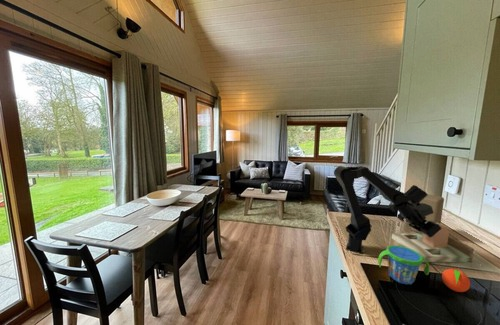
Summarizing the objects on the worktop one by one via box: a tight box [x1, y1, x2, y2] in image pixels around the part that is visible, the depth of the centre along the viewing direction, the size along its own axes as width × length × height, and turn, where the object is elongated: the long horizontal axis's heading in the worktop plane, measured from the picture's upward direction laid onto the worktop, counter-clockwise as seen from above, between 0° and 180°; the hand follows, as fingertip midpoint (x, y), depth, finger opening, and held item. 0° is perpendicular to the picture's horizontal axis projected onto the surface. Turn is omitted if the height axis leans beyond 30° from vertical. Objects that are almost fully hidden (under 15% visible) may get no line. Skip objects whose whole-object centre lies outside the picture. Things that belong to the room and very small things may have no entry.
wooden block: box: [410, 193, 445, 234], centre depth 114 cm, size 10×10×20 cm
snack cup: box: [377, 245, 431, 286], centre depth 77 cm, size 16×10×10 cm
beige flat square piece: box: [391, 233, 475, 263], centre depth 98 cm, size 20×20×6 cm
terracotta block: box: [422, 223, 451, 247], centre depth 97 cm, size 6×6×9 cm
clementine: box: [441, 268, 471, 293], centre depth 72 cm, size 8×7×7 cm
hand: (428, 234), depth 97 cm, fingers closed
